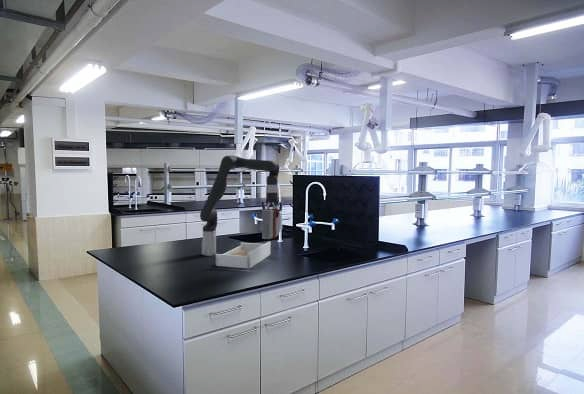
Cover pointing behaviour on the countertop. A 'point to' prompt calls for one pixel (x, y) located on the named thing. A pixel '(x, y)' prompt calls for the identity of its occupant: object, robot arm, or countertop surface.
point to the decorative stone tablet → (270, 224)
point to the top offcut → (241, 253)
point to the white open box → (251, 259)
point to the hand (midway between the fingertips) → (272, 217)
